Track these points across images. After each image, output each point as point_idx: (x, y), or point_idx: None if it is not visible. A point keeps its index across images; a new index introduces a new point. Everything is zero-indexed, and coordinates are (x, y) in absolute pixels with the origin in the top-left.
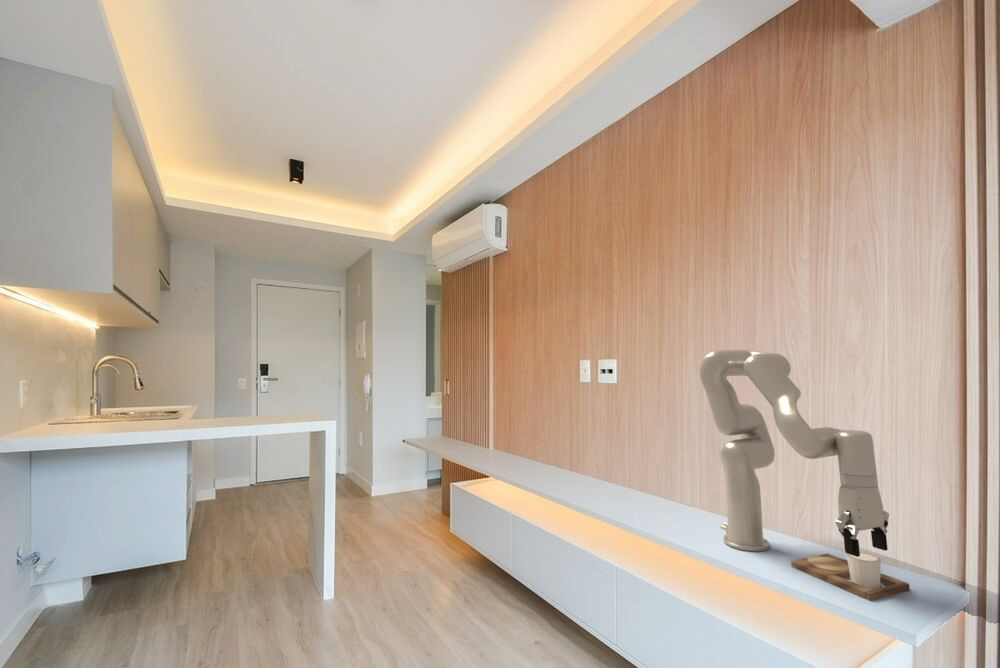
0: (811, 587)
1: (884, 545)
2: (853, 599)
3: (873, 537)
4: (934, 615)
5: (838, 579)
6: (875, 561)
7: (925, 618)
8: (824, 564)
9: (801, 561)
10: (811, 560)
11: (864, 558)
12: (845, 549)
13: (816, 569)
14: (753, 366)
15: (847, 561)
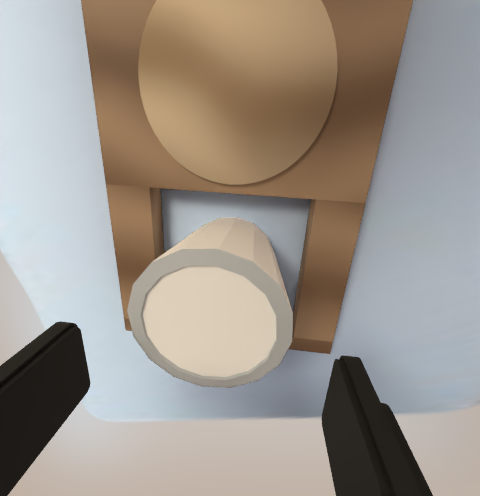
0: (30, 182)
1: (329, 452)
2: (98, 293)
3: (357, 439)
4: (214, 412)
5: (124, 226)
6: (198, 382)
7: (178, 408)
8: (200, 91)
9: None
10: (181, 7)
11: (191, 338)
12: (43, 336)
13: (120, 109)
14: None
15: (375, 109)
